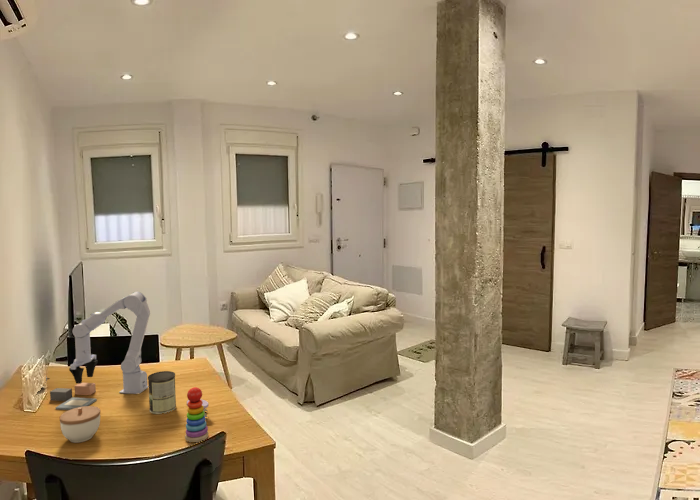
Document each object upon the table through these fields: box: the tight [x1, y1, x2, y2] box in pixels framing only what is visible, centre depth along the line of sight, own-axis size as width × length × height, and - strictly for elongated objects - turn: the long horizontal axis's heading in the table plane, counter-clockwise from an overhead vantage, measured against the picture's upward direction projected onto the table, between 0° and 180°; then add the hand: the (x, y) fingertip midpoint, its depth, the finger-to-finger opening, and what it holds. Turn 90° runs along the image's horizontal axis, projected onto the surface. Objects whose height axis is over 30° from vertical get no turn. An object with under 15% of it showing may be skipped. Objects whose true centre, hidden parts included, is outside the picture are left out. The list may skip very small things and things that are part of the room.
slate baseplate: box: [55, 396, 98, 411], centre depth 196 cm, size 11×10×1 cm
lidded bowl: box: [59, 405, 101, 444], centre depth 168 cm, size 13×13×11 cm
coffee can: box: [147, 370, 177, 415], centre depth 192 cm, size 10×10×14 cm
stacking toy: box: [184, 386, 209, 443], centre depth 167 cm, size 8×8×19 cm
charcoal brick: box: [49, 387, 73, 402], centre depth 202 cm, size 7×4×4 cm, turn 84°
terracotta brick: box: [73, 382, 96, 396], centre depth 208 cm, size 7×4×4 cm, turn 84°
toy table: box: [186, 398, 209, 417], centre depth 185 cm, size 10×9×6 cm
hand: (84, 380), depth 208 cm, fingers open, 7 cm apart
